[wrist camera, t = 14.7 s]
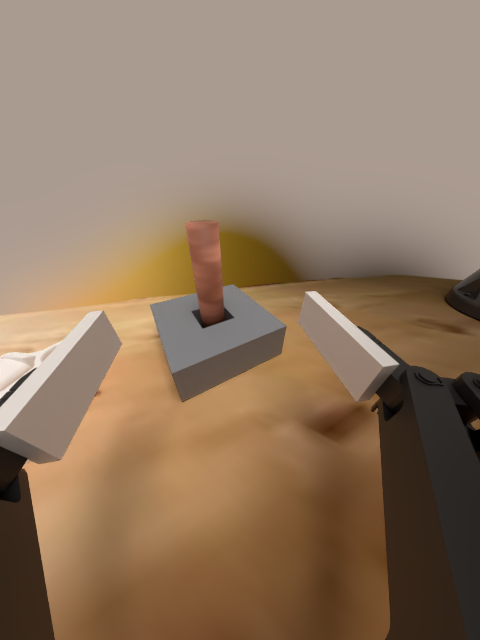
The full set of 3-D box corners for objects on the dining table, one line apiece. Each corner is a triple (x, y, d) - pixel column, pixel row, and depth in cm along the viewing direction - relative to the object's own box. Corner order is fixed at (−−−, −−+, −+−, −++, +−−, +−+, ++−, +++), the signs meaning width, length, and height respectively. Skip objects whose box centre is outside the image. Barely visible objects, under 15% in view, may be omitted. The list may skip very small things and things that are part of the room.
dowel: (220, 332, 28) (210, 219, 19) (229, 344, 26) (223, 223, 17) (202, 338, 27) (181, 221, 17) (210, 352, 25) (191, 226, 15)
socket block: (233, 307, 34) (233, 284, 31) (281, 353, 25) (286, 325, 22) (159, 330, 29) (149, 304, 26) (182, 402, 19) (171, 373, 16)
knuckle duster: (42, 349, 26) (135, 356, 25) (-234, 546, 11) (-43, 587, 10) (26, 332, 24) (125, 338, 23) (-335, 545, 9) (-112, 594, 8)
